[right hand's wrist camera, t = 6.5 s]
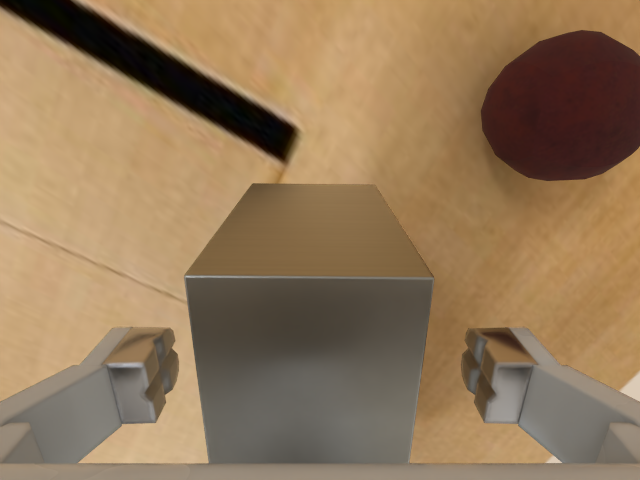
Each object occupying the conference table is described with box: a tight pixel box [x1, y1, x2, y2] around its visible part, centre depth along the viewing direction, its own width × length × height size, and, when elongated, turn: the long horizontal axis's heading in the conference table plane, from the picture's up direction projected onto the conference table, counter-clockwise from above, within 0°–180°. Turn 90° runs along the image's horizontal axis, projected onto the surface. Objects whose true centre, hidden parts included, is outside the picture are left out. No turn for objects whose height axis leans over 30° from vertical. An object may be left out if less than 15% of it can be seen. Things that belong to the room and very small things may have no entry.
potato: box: [481, 30, 640, 181], centre depth 20 cm, size 7×8×7 cm
